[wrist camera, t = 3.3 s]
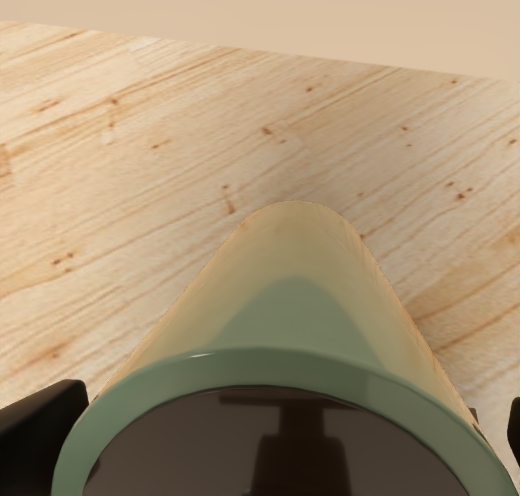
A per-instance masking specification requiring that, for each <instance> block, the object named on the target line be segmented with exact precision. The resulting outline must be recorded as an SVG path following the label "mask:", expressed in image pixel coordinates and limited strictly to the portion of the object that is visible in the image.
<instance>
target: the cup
mask: <svg viewBox="0 0 520 496" xmlns="http://www.w3.org/2000/svg"><path fill="white" fill-rule="evenodd" d="M51 496H519V494H518V492H517V490H516V488H515V486H514V484H513V482H512V480H511V478H510V475H509V473H508V471H507V470H506V468H505V467H504V465H503V463H502V462H501V460H500V459H499V457H498V455H497V454H496V452H495V451H494V449H493V447H492V446H491V444H490V443H489V441H488V439H487V438H486V436H485V435H484V433H483V431H482V430H481V428H480V427H479V425H478V423H477V422H476V420H475V419H474V417H473V415H472V414H471V412H470V411H469V409H468V407H467V406H466V404H465V403H464V401H463V400H462V398H461V396H460V395H459V393H458V392H457V390H456V388H455V387H454V385H453V384H452V382H451V380H450V379H449V377H448V376H447V374H446V372H445V371H444V369H443V368H442V366H441V364H440V363H439V361H438V360H437V358H436V356H435V355H434V353H433V352H432V350H431V348H430V347H429V345H428V344H427V342H426V340H425V339H424V337H423V336H422V334H421V333H420V331H419V329H418V328H417V326H416V325H415V323H414V321H413V320H412V318H411V317H410V315H409V313H408V312H407V310H406V309H405V307H404V305H403V304H402V302H401V301H400V299H399V297H398V296H397V294H396V293H395V291H394V289H393V288H392V286H391V285H390V283H389V281H388V280H387V278H386V277H385V275H384V273H383V272H382V270H381V269H380V267H379V266H378V264H377V262H376V261H375V259H374V258H373V256H372V254H371V253H370V251H369V250H368V248H367V246H366V245H365V243H364V242H363V240H362V238H361V237H360V235H359V234H358V232H357V231H356V229H355V228H354V227H353V226H352V225H351V224H350V223H349V222H348V221H347V220H346V219H345V218H344V217H342V216H341V215H340V214H338V213H337V212H335V211H334V210H332V209H330V208H328V207H325V206H323V205H320V204H317V203H314V202H308V201H299V200H290V201H281V202H277V203H273V204H270V205H267V206H265V207H262V208H261V209H259V210H257V211H255V212H253V213H252V214H251V215H249V216H248V217H247V218H246V219H244V220H243V221H242V222H241V223H240V224H239V226H238V227H237V228H236V229H235V230H234V232H233V233H232V234H231V235H230V236H229V238H228V239H227V240H226V241H225V242H224V244H223V245H222V246H221V247H220V248H219V250H218V251H217V252H216V253H215V254H214V256H213V257H212V258H211V259H210V260H209V262H208V263H207V264H206V265H205V266H204V268H203V269H202V270H201V271H200V272H199V274H198V275H197V276H196V277H195V278H194V280H193V281H192V282H191V283H190V284H189V286H188V287H187V288H186V289H185V290H184V292H183V293H182V294H181V295H180V296H179V298H178V299H177V300H176V301H175V302H174V304H173V305H172V306H171V307H170V308H169V310H168V311H167V312H166V313H165V314H164V316H163V317H162V318H161V319H160V320H159V322H158V323H157V324H156V325H155V326H154V328H153V329H152V330H151V331H150V332H149V334H148V335H147V336H146V337H145V338H144V340H143V341H142V342H141V343H140V344H139V346H138V347H137V348H136V349H135V350H134V352H133V353H132V354H131V355H130V356H129V358H128V359H127V360H126V361H125V362H124V364H123V365H122V366H121V367H120V368H119V370H118V371H117V372H116V373H115V374H114V376H113V377H112V378H111V379H110V380H109V382H108V383H107V384H106V385H105V386H104V388H103V389H102V390H101V391H100V393H99V394H98V395H97V396H96V397H95V399H94V400H93V401H92V402H91V403H90V405H89V406H88V407H87V408H86V410H85V411H84V412H83V413H82V414H81V416H80V417H79V418H78V419H77V421H76V422H75V423H74V425H73V427H72V428H71V430H70V432H69V434H68V436H67V438H66V439H65V441H64V443H63V445H62V448H61V451H60V454H59V457H58V460H57V463H56V466H55V469H54V475H53V482H52V488H51Z"/></svg>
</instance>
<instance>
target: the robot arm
mask: <svg viewBox="0 0 520 496" xmlns="http://www.w3.org/2000/svg"><path fill="white" fill-rule="evenodd" d="M88 406H89V401H88V396H87V391H86V386H85V384H84V382H83V381H81V380H72V379H65V380H62V381H60V382H57V383H55V384H53V385H51V386H49V387H47V388H45V389H43V390H41V391H38V392H36V393H34V394H32V395H30V396H28V397H26V398H24V399H22V400H19V401H17V402H15V403H13V404H11V405H9V406H7V407H5V408H3V409H0V496H51V488H52V482H53V475H54V469H55V466H56V463H57V460H58V457H59V454H60V451H61V448H62V445H63V443H64V441H65V439H66V438H67V436H68V434H69V432H70V430H71V428H72V427H73V425H74V423H75V422H76V421H77V419H78V418H79V417H80V416H81V414H82V413H83V412H84V411H85V410H86V408H87V407H88ZM507 437H508V442H509V445H510V447H511V449H512V452H513V454H514V456H515V458H516V461H517V463H518V465H519V467H520V397H516V398H515V399H514V400H513V401H512V405H511V411H510V417H509V423H508V429H507Z"/></svg>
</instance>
